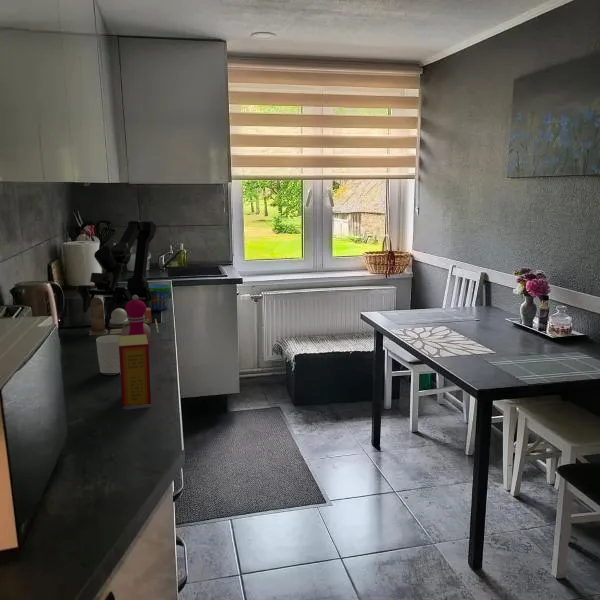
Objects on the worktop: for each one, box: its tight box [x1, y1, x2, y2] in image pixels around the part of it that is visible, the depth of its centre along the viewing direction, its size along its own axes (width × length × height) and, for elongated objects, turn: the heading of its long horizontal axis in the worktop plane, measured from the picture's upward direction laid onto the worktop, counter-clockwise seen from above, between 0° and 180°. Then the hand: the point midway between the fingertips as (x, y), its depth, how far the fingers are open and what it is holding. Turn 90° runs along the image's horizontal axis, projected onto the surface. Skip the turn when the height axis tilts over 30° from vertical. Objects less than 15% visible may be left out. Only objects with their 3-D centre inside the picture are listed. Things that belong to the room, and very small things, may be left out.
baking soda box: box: [118, 334, 152, 408], centre depth 131 cm, size 10×6×16 cm
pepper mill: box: [124, 295, 151, 348], centre depth 163 cm, size 7×7×20 cm
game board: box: [88, 318, 160, 336], centre depth 199 cm, size 20×25×2 cm
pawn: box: [89, 297, 107, 335], centre depth 190 cm, size 5×5×12 cm
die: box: [144, 307, 153, 324], centre depth 206 cm, size 5×5×5 cm
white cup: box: [95, 334, 122, 373], centre depth 152 cm, size 8×8×10 cm
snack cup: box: [148, 283, 172, 311], centre depth 234 cm, size 16×11×10 cm
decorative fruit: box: [120, 321, 151, 339], centre depth 175 cm, size 9×8×10 cm
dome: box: [109, 307, 129, 324], centre depth 201 cm, size 7×7×6 cm
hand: (96, 312), depth 189 cm, fingers open, 9 cm apart
